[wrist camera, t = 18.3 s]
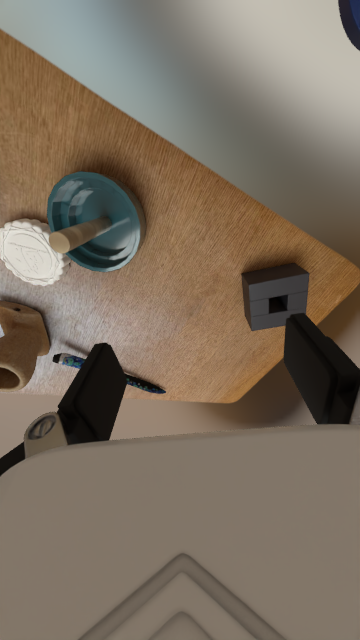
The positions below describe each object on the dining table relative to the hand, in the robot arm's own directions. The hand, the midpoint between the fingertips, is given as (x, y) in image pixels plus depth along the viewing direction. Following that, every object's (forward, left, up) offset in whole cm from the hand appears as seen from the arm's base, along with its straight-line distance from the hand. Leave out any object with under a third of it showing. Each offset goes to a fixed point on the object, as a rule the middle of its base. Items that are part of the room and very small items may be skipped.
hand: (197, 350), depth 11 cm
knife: (+29, -26, -33) cm, 51 cm away
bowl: (-6, -14, -33) cm, 36 cm away
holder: (+14, +14, -33) cm, 38 cm away
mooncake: (-4, -29, -33) cm, 44 cm away
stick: (-5, -14, -32) cm, 36 cm away
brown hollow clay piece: (+12, -41, -33) cm, 54 cm away
